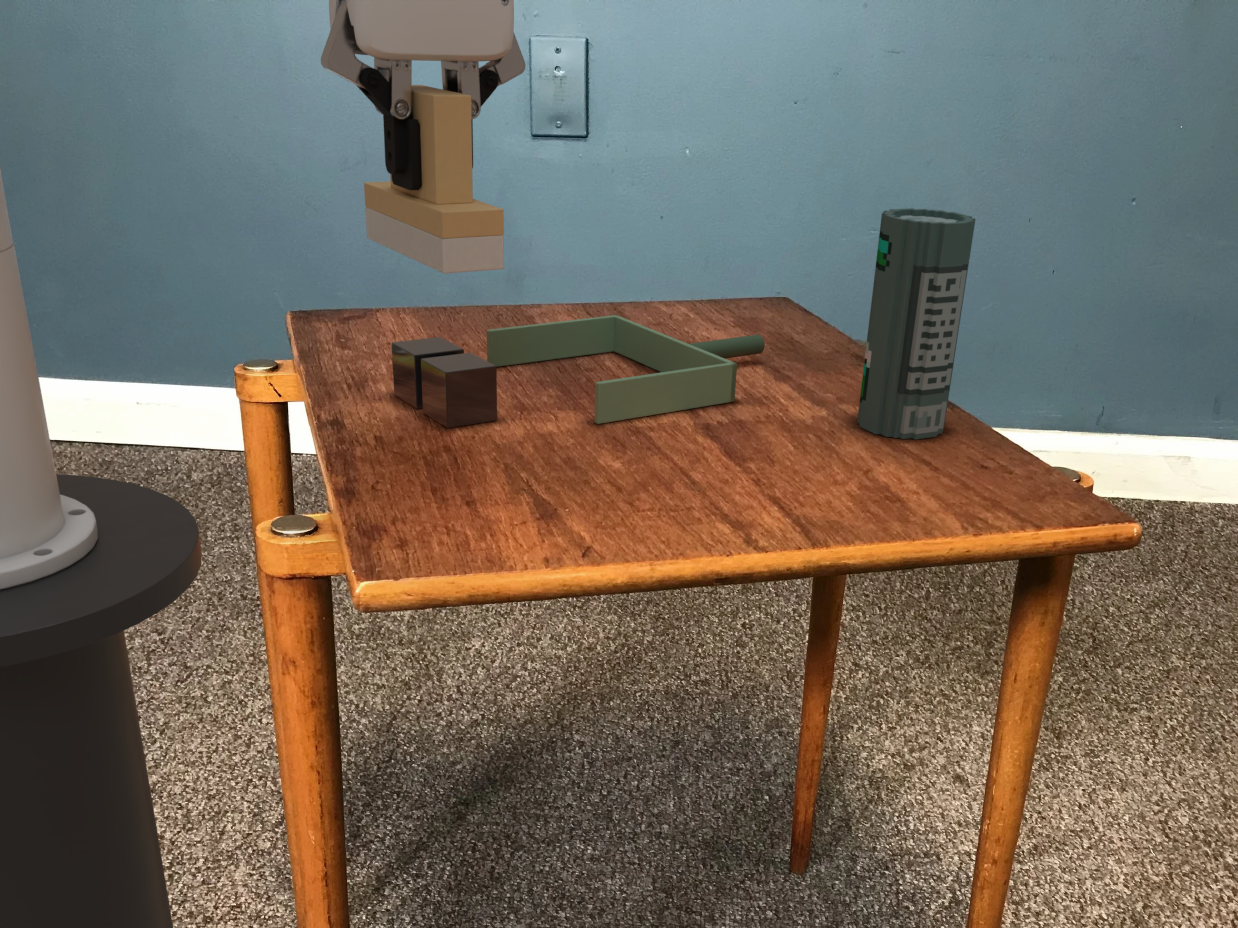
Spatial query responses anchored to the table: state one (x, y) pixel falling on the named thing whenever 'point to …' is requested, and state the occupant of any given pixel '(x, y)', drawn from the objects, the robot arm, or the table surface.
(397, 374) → the black metallic cube
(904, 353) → the can
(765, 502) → the table surface
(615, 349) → the green u-shaped rake
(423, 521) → the table surface
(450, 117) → the wooden block stamp
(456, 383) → the black cube
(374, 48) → the robot arm
